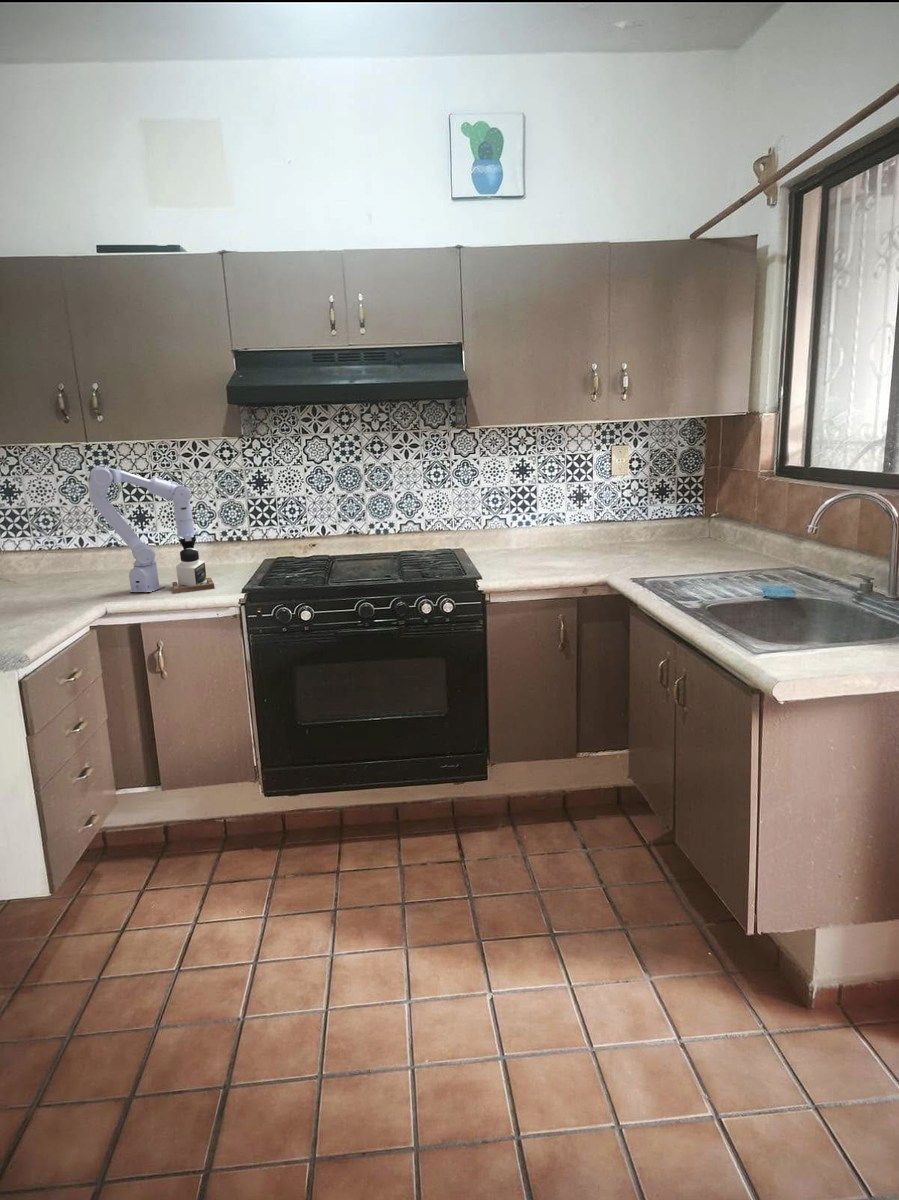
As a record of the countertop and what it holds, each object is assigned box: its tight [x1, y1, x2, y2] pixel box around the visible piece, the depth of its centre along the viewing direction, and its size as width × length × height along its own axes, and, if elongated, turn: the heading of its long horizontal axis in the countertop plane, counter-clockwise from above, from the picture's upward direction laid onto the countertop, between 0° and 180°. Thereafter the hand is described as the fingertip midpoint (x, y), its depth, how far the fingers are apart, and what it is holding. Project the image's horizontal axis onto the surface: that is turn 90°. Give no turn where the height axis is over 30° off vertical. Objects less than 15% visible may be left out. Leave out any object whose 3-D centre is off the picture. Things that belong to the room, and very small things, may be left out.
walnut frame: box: [171, 577, 215, 594], centre depth 265 cm, size 12×13×2 cm
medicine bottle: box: [175, 548, 207, 587], centre depth 268 cm, size 7×7×12 cm
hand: (190, 558), depth 270 cm, fingers closed, pressing on medicine bottle
